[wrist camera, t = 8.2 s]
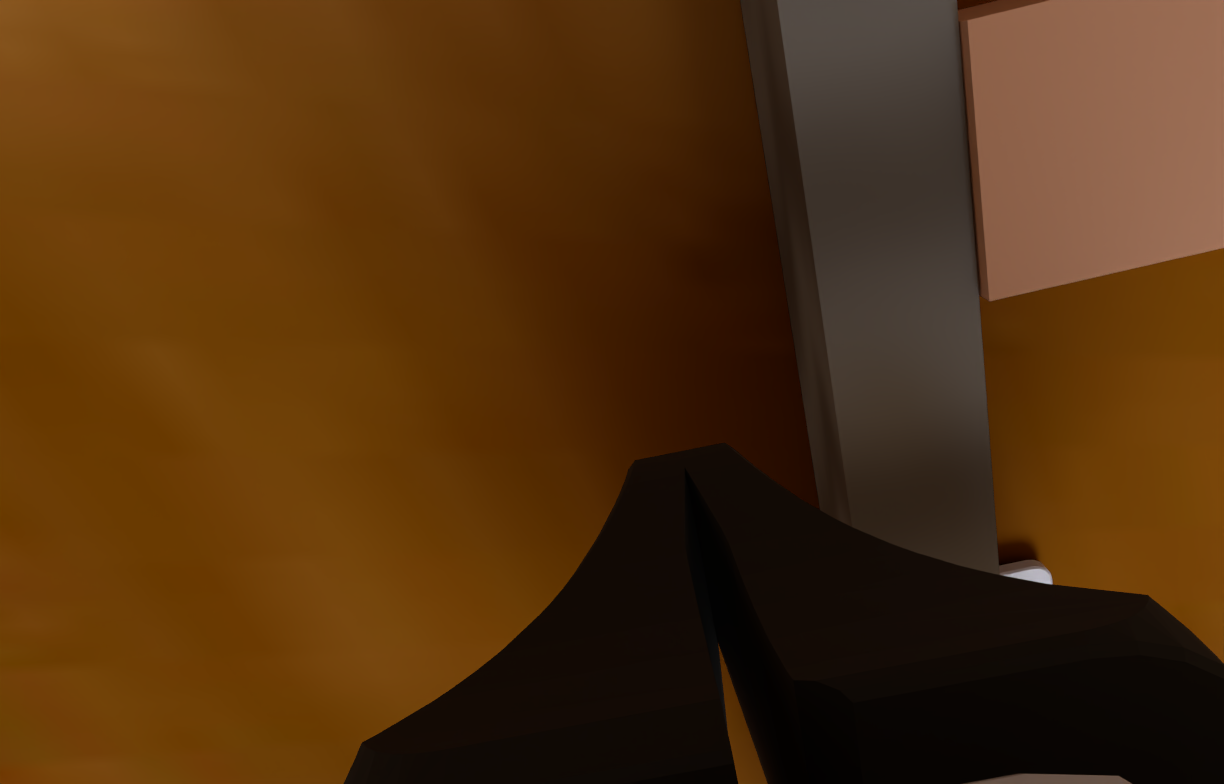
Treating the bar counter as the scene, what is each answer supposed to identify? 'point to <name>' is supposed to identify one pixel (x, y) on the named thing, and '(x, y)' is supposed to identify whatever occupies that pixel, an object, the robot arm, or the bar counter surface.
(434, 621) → the bar counter surface
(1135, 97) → the block
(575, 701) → the robot arm
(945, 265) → the gray rectangular bar
